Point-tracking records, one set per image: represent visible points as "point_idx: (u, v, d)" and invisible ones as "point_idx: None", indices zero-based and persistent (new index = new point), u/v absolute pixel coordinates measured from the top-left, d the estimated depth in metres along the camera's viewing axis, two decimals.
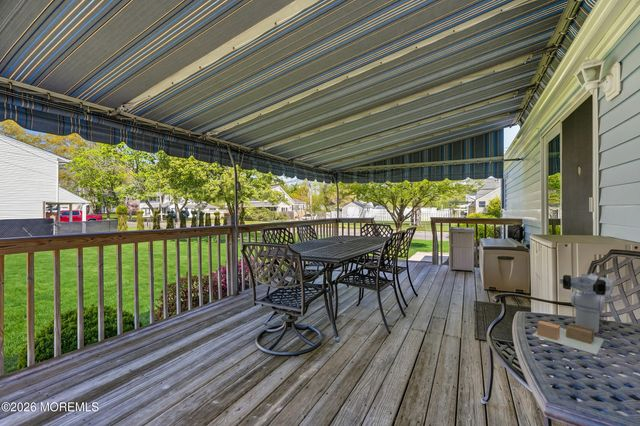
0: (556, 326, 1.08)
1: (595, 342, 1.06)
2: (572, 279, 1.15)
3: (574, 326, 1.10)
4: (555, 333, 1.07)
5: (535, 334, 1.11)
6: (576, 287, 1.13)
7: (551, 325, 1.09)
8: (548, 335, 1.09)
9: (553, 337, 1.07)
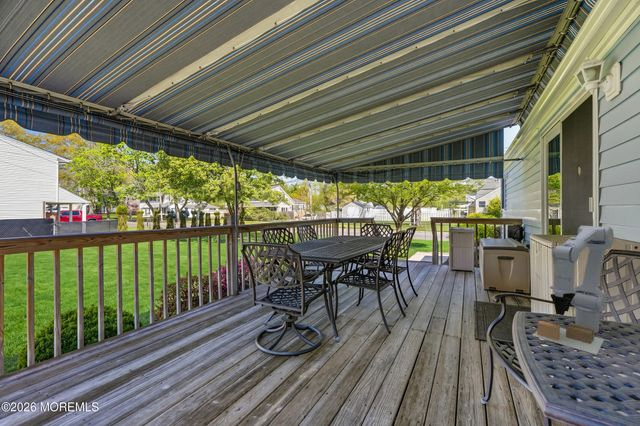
0: (556, 326, 1.08)
1: (595, 342, 1.06)
2: None
3: (574, 326, 1.10)
4: (555, 333, 1.07)
5: (535, 334, 1.11)
6: None
7: (551, 325, 1.09)
8: (548, 335, 1.09)
9: (553, 337, 1.07)
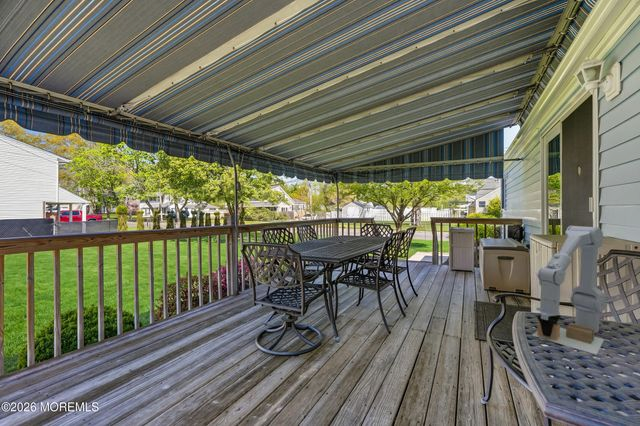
0: (556, 326, 1.08)
1: (595, 342, 1.06)
2: None
3: (574, 326, 1.10)
4: (555, 333, 1.07)
5: (535, 334, 1.11)
6: None
7: None
8: None
9: (553, 337, 1.07)
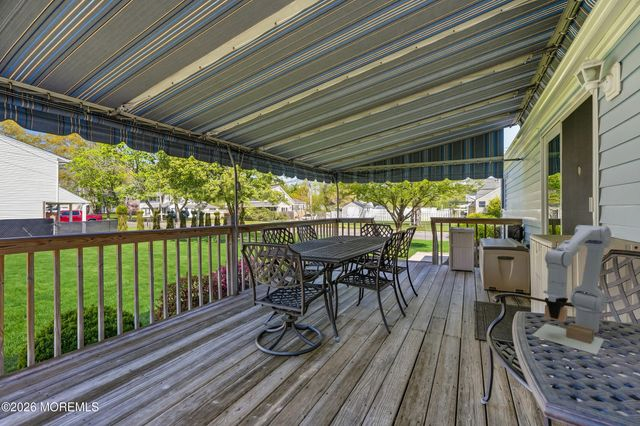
0: (563, 308, 1.08)
1: (595, 342, 1.06)
2: None
3: (574, 326, 1.10)
4: (563, 315, 1.07)
5: (535, 334, 1.11)
6: None
7: None
8: None
9: (561, 319, 1.07)
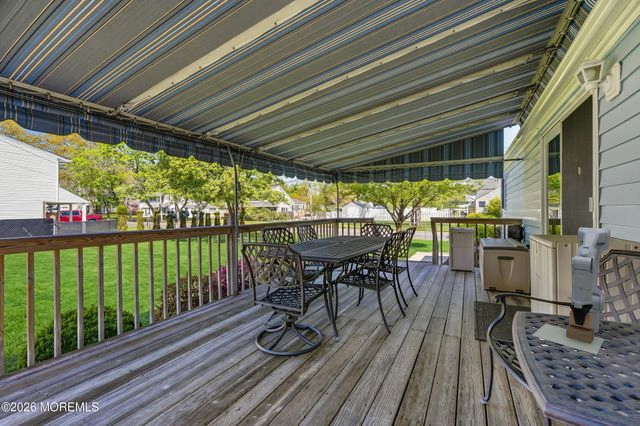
0: (589, 315, 1.07)
1: (595, 342, 1.06)
2: None
3: (574, 326, 1.10)
4: (588, 322, 1.06)
5: (535, 334, 1.11)
6: None
7: None
8: None
9: (586, 326, 1.06)
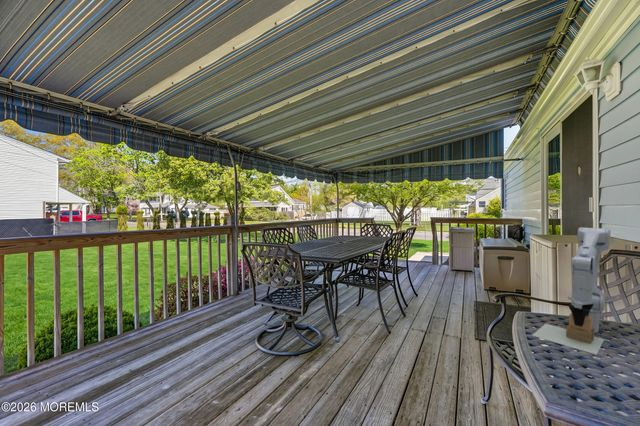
0: (589, 318, 1.07)
1: (595, 342, 1.06)
2: None
3: None
4: (588, 325, 1.06)
5: (535, 334, 1.11)
6: None
7: None
8: (581, 327, 1.07)
9: (586, 329, 1.06)
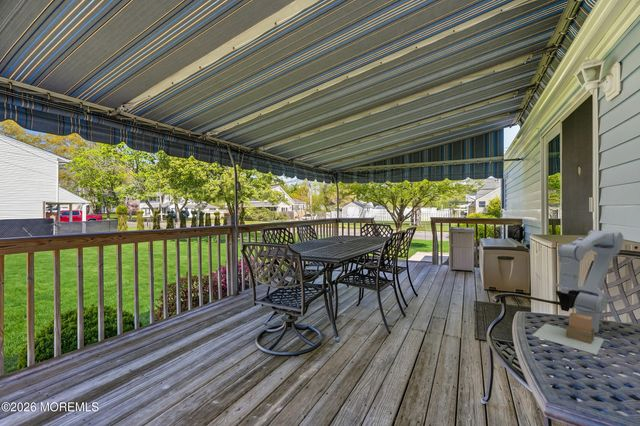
0: (589, 318, 1.07)
1: (595, 342, 1.06)
2: None
3: None
4: (588, 325, 1.06)
5: (535, 334, 1.11)
6: None
7: (583, 316, 1.08)
8: (581, 327, 1.07)
9: (586, 329, 1.06)
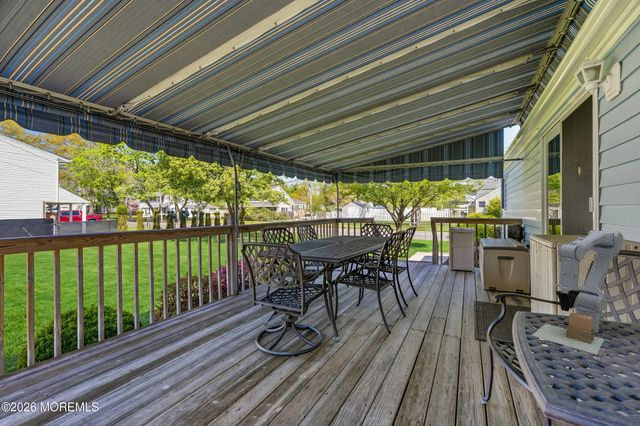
0: (589, 318, 1.07)
1: (595, 342, 1.06)
2: None
3: None
4: (588, 325, 1.06)
5: (535, 334, 1.11)
6: None
7: (583, 316, 1.08)
8: (581, 327, 1.07)
9: (586, 329, 1.06)
